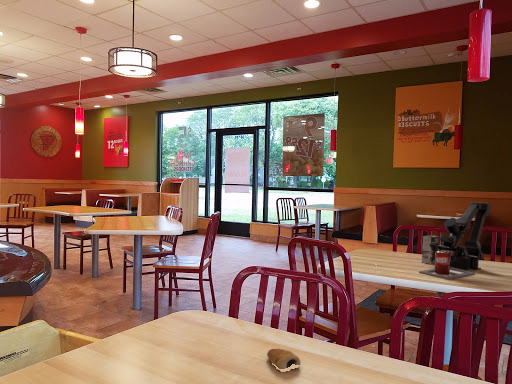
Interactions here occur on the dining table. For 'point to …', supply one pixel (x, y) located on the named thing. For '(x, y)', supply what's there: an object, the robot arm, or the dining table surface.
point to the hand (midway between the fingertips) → (441, 261)
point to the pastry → (283, 358)
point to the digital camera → (461, 263)
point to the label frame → (454, 273)
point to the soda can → (442, 263)
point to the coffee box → (428, 248)
